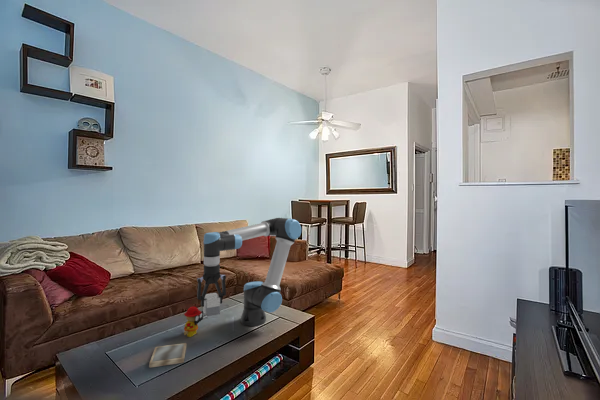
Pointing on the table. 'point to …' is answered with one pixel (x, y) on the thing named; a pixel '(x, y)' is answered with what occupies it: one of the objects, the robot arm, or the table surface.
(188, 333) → the toy
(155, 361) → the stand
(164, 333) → the table surface
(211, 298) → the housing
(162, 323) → the table surface
